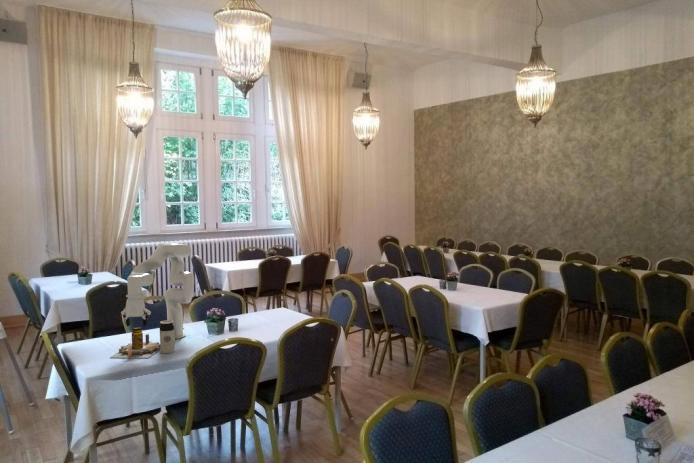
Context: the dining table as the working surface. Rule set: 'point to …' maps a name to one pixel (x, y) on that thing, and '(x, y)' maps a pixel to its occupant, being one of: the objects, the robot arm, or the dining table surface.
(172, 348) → the travel mug
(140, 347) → the condiment
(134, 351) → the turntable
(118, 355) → the turntable base
